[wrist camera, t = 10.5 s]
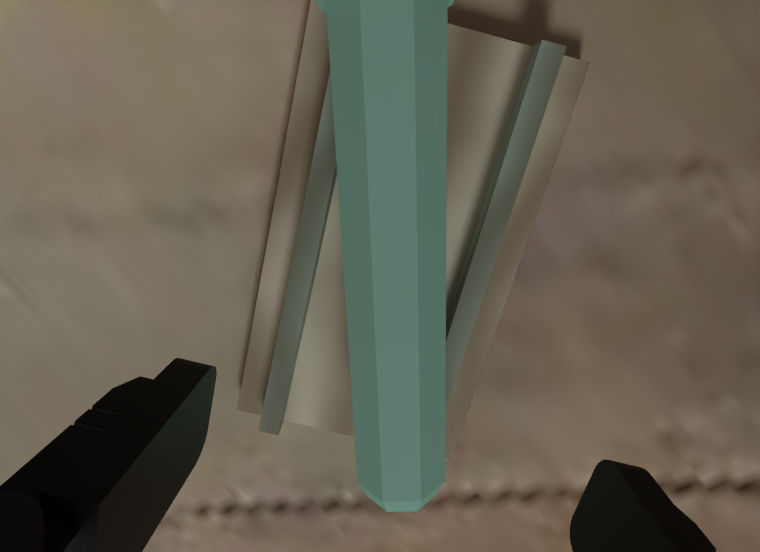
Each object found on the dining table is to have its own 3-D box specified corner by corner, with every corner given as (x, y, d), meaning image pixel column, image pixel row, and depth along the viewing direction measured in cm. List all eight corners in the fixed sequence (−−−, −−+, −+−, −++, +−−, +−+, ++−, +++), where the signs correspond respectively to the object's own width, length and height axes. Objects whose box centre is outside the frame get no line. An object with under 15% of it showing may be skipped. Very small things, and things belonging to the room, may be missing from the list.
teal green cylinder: (437, 553, 21) (437, -69, 14) (328, 516, 24) (278, -33, 16) (465, 470, 26) (476, -15, 19) (374, 447, 29) (352, 6, 21)
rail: (579, 66, 23) (604, 56, 21) (448, 446, 30) (454, 474, 27) (317, -6, 23) (307, -26, 20) (243, 399, 29) (228, 424, 27)
